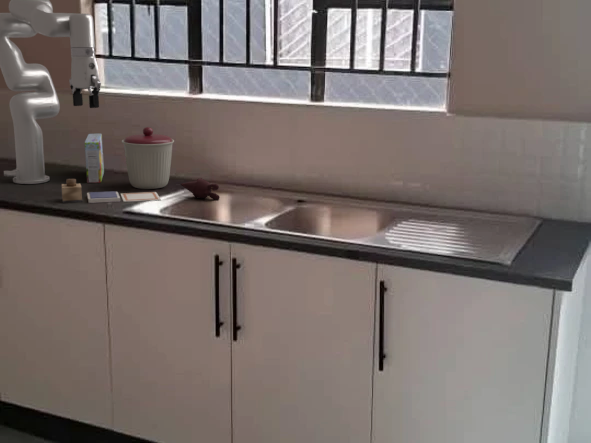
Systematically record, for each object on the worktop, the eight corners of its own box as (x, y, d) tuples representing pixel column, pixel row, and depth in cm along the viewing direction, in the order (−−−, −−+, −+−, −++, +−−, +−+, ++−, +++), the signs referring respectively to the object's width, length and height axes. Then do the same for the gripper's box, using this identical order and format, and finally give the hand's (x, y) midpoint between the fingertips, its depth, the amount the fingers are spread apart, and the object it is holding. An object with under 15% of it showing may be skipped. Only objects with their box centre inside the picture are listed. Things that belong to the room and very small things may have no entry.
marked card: (123, 202, 268) (123, 200, 268) (120, 194, 279) (120, 193, 279) (160, 200, 271) (160, 199, 271) (156, 192, 282) (156, 191, 282)
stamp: (62, 203, 265) (61, 181, 264) (62, 199, 271) (61, 178, 269) (82, 202, 267) (81, 181, 265) (81, 198, 273) (80, 177, 271)
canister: (121, 182, 298) (119, 124, 293) (171, 180, 303) (170, 123, 298) (125, 192, 282) (123, 131, 276) (178, 190, 286) (177, 130, 281)
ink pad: (88, 202, 266) (88, 198, 265) (87, 196, 275) (86, 192, 275) (120, 201, 269) (120, 197, 268) (117, 195, 278) (117, 190, 277)
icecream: (173, 179, 274) (212, 188, 268) (186, 170, 279) (224, 178, 273) (175, 197, 277) (213, 206, 271) (187, 188, 283) (225, 197, 277)
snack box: (89, 172, 316) (87, 133, 313) (104, 172, 317) (103, 133, 314) (85, 183, 296) (83, 141, 292) (101, 183, 297) (100, 141, 293)
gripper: (108, 53, 262) (110, 107, 266) (79, 52, 274) (82, 104, 278) (87, 54, 257) (90, 109, 261) (58, 52, 269) (62, 105, 272)
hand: (86, 106), depth 269 cm, fingers open, 9 cm apart
